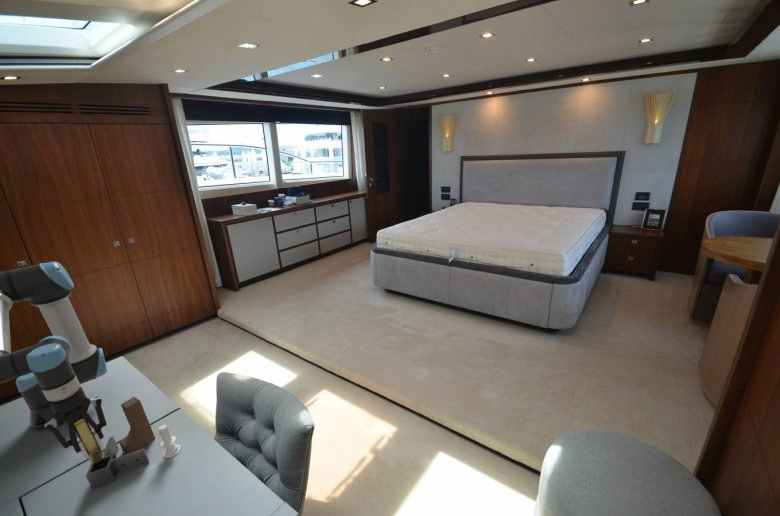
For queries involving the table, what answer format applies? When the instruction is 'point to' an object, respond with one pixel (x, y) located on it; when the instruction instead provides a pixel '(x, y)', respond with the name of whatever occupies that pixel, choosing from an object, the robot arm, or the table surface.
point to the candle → (168, 442)
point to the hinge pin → (88, 440)
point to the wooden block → (136, 426)
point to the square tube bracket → (114, 464)
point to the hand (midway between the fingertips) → (94, 451)
